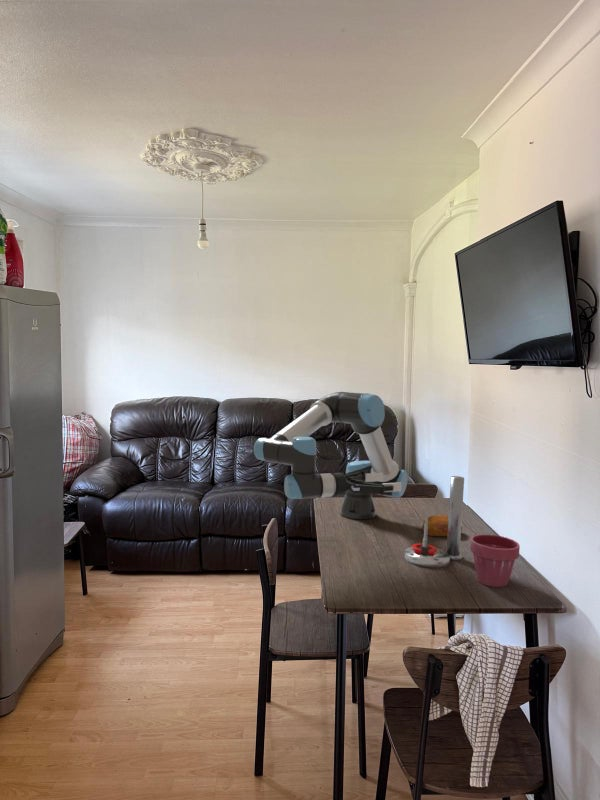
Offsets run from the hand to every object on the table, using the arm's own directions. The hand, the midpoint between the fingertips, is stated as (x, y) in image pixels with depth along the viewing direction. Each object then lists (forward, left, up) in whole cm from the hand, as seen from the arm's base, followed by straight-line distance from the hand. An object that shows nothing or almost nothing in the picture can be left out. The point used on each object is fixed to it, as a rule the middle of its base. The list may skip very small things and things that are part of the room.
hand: (391, 481), depth 188 cm
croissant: (-23, +34, -27) cm, 49 cm away
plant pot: (+24, +24, -27) cm, 43 cm away
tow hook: (0, +14, -25) cm, 28 cm away
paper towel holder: (+3, +16, -27) cm, 31 cm away
